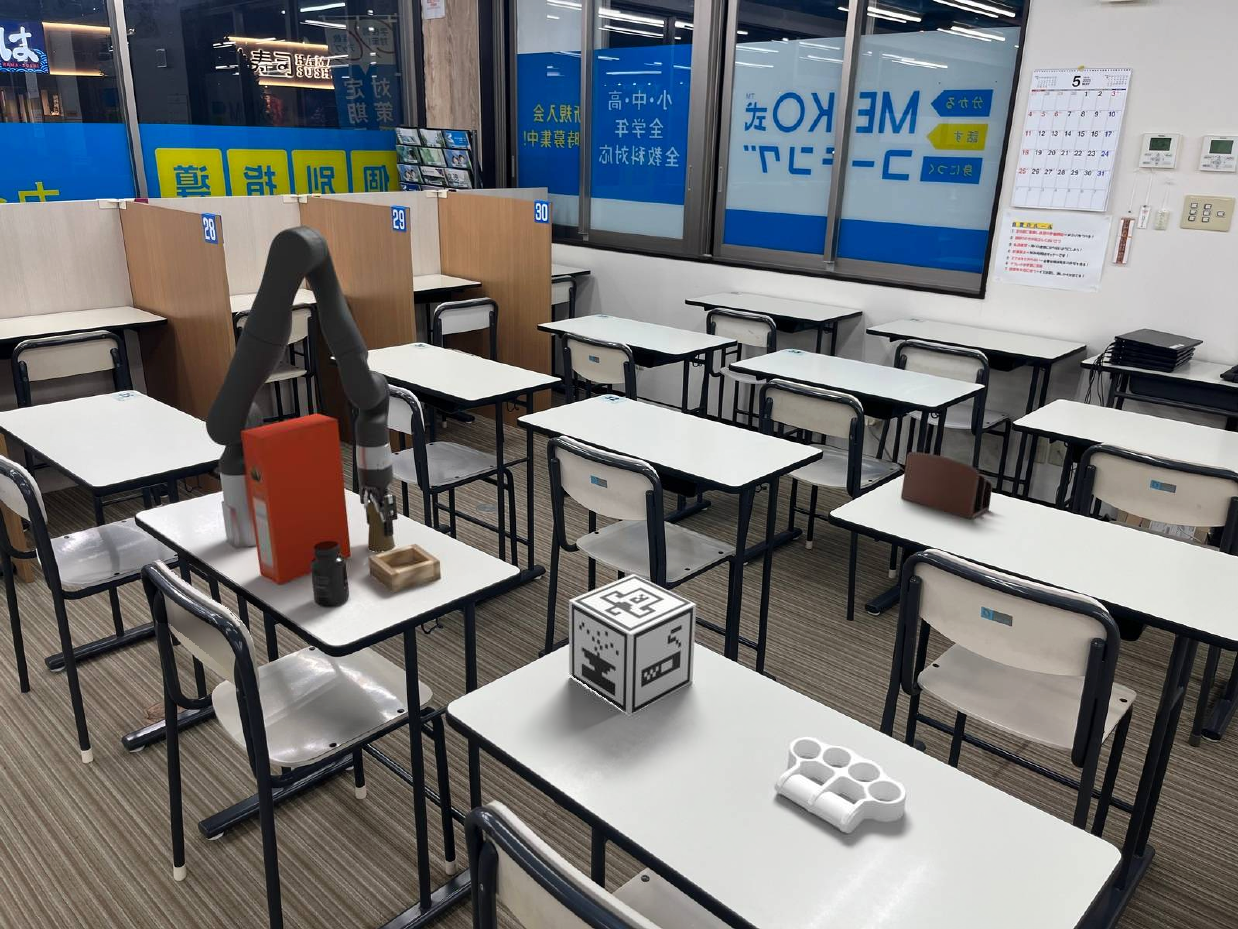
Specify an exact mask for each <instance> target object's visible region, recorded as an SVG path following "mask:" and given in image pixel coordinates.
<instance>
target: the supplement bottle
mask: <svg viewBox="0 0 1238 929" xmlns="http://www.w3.org/2000/svg"><path fill="white" fill-rule="evenodd" d="M314 556H315V558H313V559H312V561H311V563H310V568H311V573H310V575H311V576H310V577H311V584H312V592H313V593H312V595H313V602H314V603H315V604H316V605H317V606H319V607H324V608H330V607H331V608H332V607H334V608H335V607H337V606H340V605H343V604H345V603H346V602H347V601H348V600H349V599H350V590H349V589H350V588H349V579H348V569H347V568H348V566H347V559H345V558H344V556H342V555H341V554H340V548H339V543H337V542H335V541H324V542H320V543H318V544H316V545H315V546H314Z"/></svg>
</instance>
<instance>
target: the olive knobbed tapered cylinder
mask: <svg viewBox="0 0 1238 929" xmlns="http://www.w3.org/2000/svg"><path fill="white" fill-rule="evenodd" d="M382 507H384V506H382ZM382 507H381V508H382ZM366 511H367V514H368V515H369V517H370V519H369V525H368V538H367V539H368V540H367V550H369V551H370V552H372V551H374V553H383V552H382V551H385V552H387V551H391V550H394V548H395V547H396V545H395V543H396V542H395V539H394V534H393V535H392V536H389V537H385V536H383V528H382V519H381V516H380V513H377V511H376V508H375V505H374V503H372V502H370V503H368V505H367V509H365V512H366ZM384 515H385V513H384Z"/></svg>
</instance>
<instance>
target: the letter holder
mask: <svg viewBox="0 0 1238 929" xmlns="http://www.w3.org/2000/svg"><path fill="white" fill-rule="evenodd" d="M992 491H993V483H992V482H991V481H990V480H987V479H986V478H985V476H983V475H982V474H980V471H979V470H978V469H977V468H976V467H974V466H971V465H970V464H966V463H963V462H961V461H958V460H955V459H951V458H950V457H949V458H948V457H944V456H941V455H936V454H932V453H925V452H917V451H911V452H908V453H907V455H906V462H905V468H904V475H903V483H902V488H901V494H900V498H901V499H903V500H905V501H909V502H912V503H915V504H918V505H921V506H922V505H923V506H925V507H928V508H932V509H936V510H939V511H943V512H945V513H948V514H952V515H955V516H958V517H962V518H965V519H968V520H973V519H975V518H976V517H979V516H980V515H982V514H984V513H986V512H988V511H989V510H990V506H991V505H990V504H991V496H992Z"/></svg>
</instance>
